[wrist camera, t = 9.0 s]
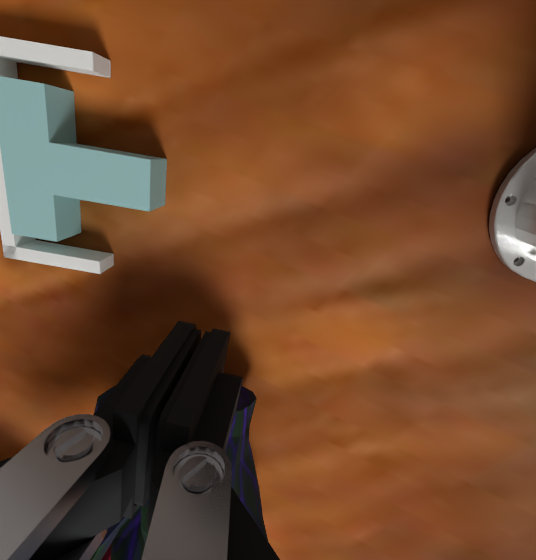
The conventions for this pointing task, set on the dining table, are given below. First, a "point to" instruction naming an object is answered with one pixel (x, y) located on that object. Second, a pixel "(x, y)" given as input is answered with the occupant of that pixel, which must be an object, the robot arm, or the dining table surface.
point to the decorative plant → (133, 533)
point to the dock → (3, 58)
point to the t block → (64, 164)
